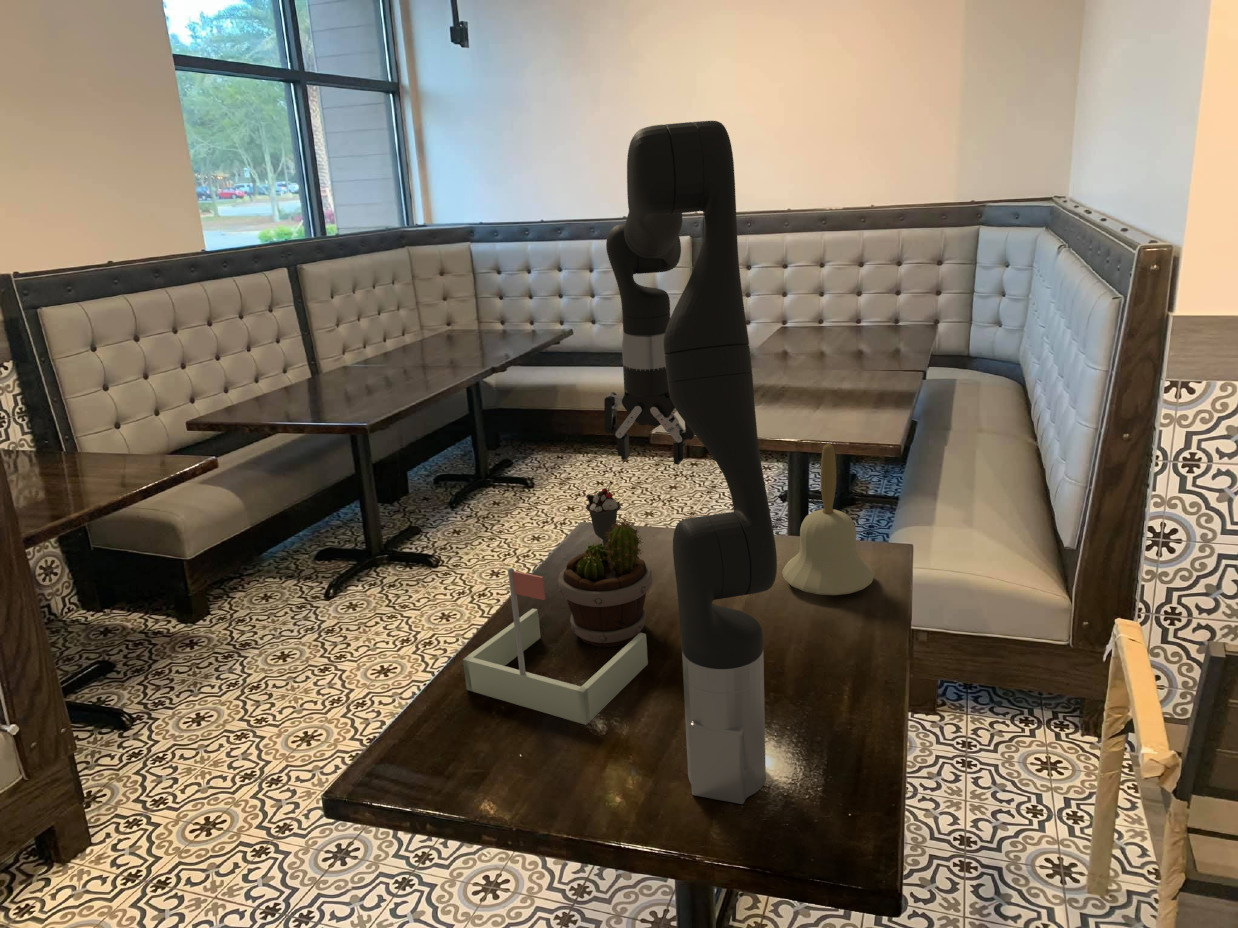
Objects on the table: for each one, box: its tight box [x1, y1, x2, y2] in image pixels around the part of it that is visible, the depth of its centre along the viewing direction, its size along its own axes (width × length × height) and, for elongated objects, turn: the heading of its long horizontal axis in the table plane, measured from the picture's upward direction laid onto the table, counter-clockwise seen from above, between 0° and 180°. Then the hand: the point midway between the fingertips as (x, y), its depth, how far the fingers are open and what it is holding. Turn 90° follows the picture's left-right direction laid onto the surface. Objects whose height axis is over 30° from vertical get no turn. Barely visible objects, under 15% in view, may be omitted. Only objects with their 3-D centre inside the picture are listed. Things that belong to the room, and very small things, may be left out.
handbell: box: [781, 443, 875, 596], centre depth 151 cm, size 15×15×25 cm
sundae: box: [585, 481, 622, 551], centre depth 170 cm, size 7×7×15 cm
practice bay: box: [462, 567, 649, 726], centre depth 128 cm, size 17×20×21 cm
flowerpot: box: [558, 515, 653, 648], centre depth 140 cm, size 14×15×20 cm
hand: (651, 460), depth 140 cm, fingers open, 8 cm apart
